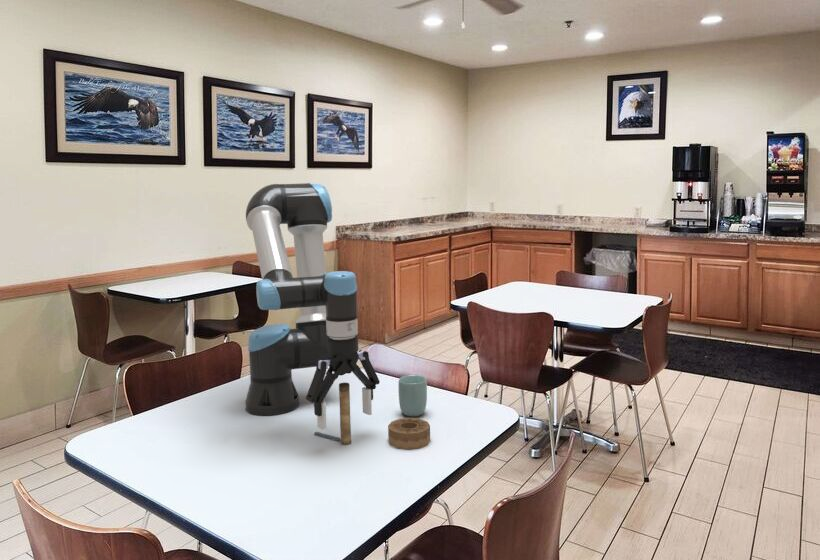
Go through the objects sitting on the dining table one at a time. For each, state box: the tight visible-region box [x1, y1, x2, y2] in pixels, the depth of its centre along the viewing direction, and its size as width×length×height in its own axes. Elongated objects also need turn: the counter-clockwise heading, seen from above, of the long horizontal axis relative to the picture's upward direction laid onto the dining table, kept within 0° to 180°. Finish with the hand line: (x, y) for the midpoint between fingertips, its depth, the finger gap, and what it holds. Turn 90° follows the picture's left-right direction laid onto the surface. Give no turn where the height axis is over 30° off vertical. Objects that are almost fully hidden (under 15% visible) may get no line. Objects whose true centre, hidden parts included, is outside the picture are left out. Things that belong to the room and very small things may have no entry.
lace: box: [313, 431, 341, 442], centre depth 158 cm, size 8×1×1 cm, turn 57°
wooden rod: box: [338, 382, 352, 446], centre depth 153 cm, size 2×2×15 cm
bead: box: [387, 417, 431, 450], centre depth 154 cm, size 10×10×4 cm
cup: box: [397, 374, 428, 418], centre depth 172 cm, size 8×8×10 cm
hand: (345, 420), depth 153 cm, fingers open, 13 cm apart
